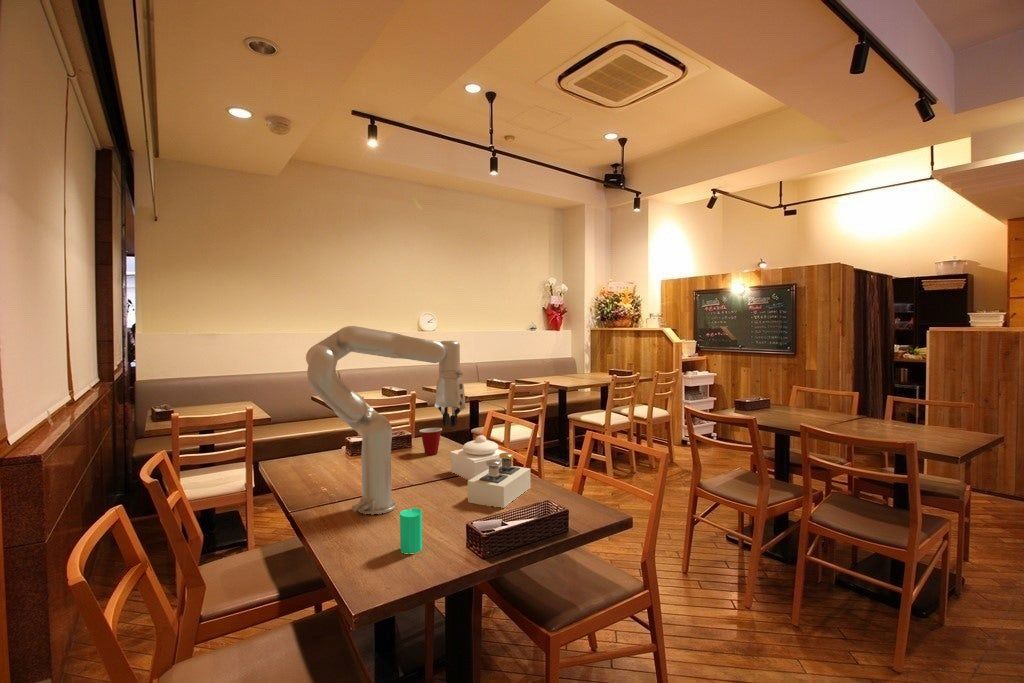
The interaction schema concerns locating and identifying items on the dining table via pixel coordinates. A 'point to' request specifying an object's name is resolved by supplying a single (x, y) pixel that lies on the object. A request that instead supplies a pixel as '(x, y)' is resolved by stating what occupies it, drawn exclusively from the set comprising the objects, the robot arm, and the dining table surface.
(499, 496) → the socket block
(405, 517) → the candle
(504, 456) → the brass-capped peg
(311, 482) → the dining table surface
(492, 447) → the butter dish
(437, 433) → the plastic cup
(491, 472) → the grey peg
